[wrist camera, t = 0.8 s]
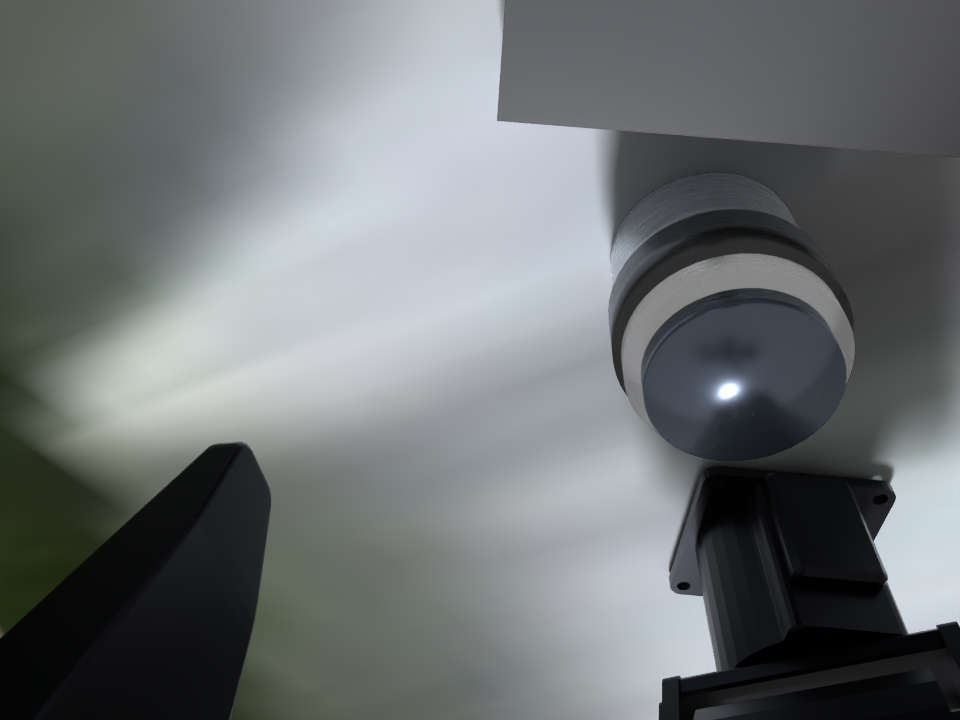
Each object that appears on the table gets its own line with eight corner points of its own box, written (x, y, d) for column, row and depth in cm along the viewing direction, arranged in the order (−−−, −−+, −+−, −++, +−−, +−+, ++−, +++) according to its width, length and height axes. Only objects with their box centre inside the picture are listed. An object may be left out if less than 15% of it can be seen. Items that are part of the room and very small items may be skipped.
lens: (773, 345, 24) (828, 488, 19) (590, 330, 24) (600, 468, 20) (832, 173, 21) (916, 295, 16) (619, 157, 21) (640, 272, 16)
